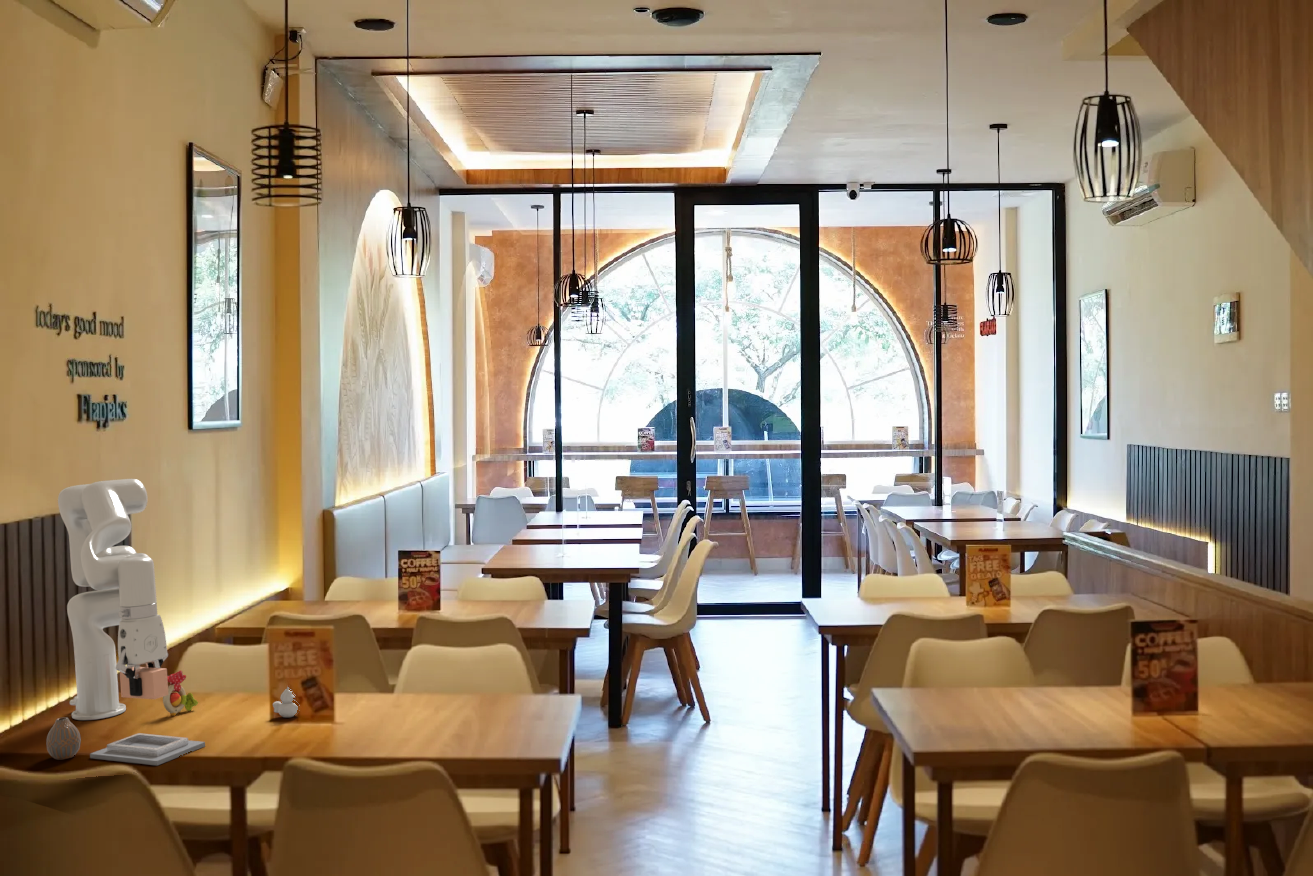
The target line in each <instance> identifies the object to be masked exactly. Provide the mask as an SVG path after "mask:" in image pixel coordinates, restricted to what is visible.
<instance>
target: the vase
mask: <svg viewBox="0 0 1313 876" xmlns="http://www.w3.org/2000/svg"><path fill="white" fill-rule="evenodd" d="M47 733H48V734H47V735H46V750H47V753H48V754H49V755H50V756H51V757H52V758H53V759H54V760H56V761H57V760H58V761H59V760H67V759H71V758H73V757H75V756H76V754H78V752H79V751H80V748H81V743H82V742H81V741H82V740H81V739H82V738H81V734H80V731H79V729H78V727H76V726H75V725H74V724H73V722H71V721H70V719H69V717H67V716H66V717H65V716H64V717H59V718H57V719H56V720H55V722H54V724H53V725H52V727H51V728H50V730H49V732H47ZM74 755H75V756H74Z"/></svg>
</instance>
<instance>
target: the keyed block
mask: <svg viewBox="0 0 1313 876" xmlns="http://www.w3.org/2000/svg"><path fill="white" fill-rule="evenodd" d="M132 670H133V671H134V667H133V668H132ZM167 676H168V669H167V668H164V667H163V668H162V667H160V668H149V667H147V666H140V672H139V678H141V680H142V696H131V695H130V687H129V678H126V676H125V675H124V674H123V673H122V672H120V671H119V681H120V683H119V685H120V695H121V696H120V697H121V698H128V699H130V698H131V699H143V700H157V699H160V698H163V696H166V695H169V694H168V686H169V682H168V679H167Z"/></svg>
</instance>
